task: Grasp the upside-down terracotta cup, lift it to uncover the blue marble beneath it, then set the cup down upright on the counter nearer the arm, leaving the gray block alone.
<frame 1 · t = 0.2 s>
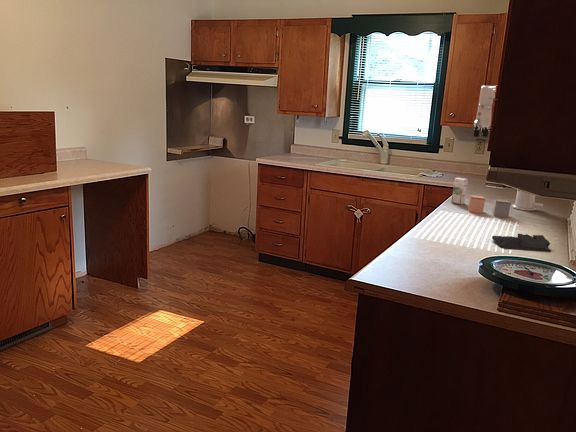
hand: (480, 136, 299), 37 cm above the counter, tool pointing down, fingers open, 9 cm apart
dark slate chunk: (520, 246, 209), on the counter
marble: (475, 208, 268), in the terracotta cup
gray block: (500, 215, 262), on the counter
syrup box: (457, 203, 288), on the counter
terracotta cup: (475, 211, 269), on the counter
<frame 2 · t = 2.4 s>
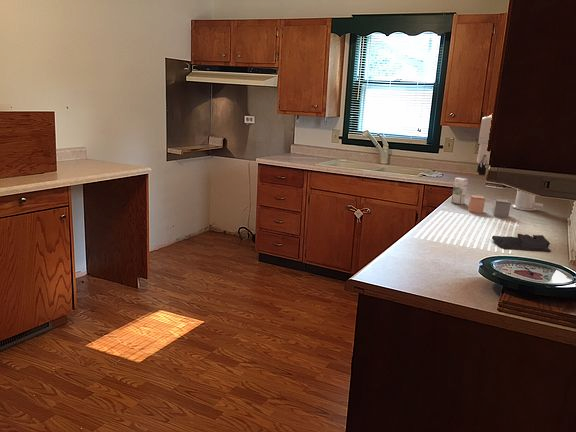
hand: (480, 173, 264), 20 cm above the counter, tool pointing down, fingers open, 9 cm apart
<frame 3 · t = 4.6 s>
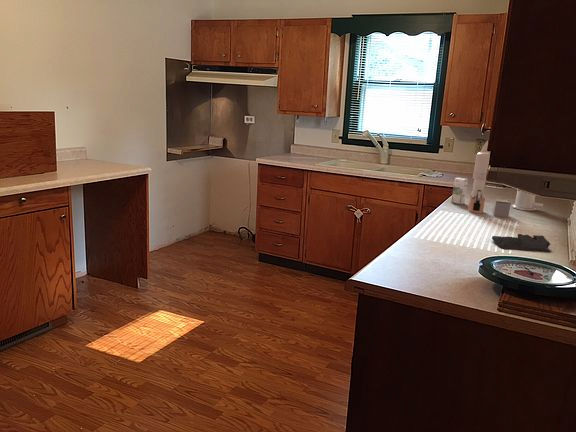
hand: (475, 208, 268), 1 cm above the counter, tool pointing down, fingers closed on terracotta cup, 7 cm apart
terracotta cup: (475, 211, 269), on the counter, touching gripper
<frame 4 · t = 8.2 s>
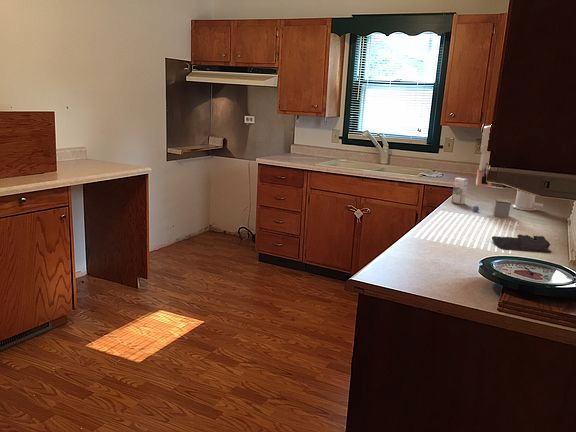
hand: (483, 182, 269), 15 cm above the counter, tool pointing down, fingers closed on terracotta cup, 7 cm apart
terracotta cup: (483, 185, 270), point 14 cm above the counter, touching gripper
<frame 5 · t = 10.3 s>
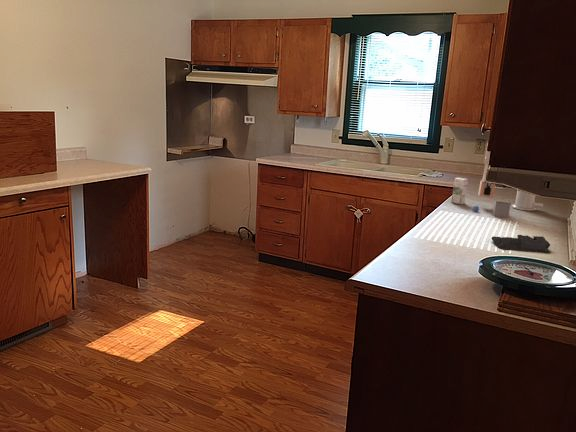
hand: (485, 193, 278), 8 cm above the counter, tool pointing down, fingers closed on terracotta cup, 7 cm apart
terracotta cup: (485, 195, 279), point 7 cm above the counter, touching gripper
when the fingers open (3 cm above the counter, at t = 12.1 s): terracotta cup drops 2 cm, on the counter.
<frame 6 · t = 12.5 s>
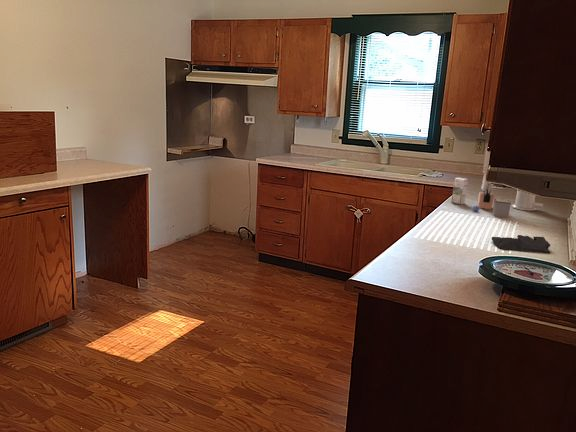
hand: (485, 200, 279), 4 cm above the counter, tool pointing down, fingers open, 9 cm apart
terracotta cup: (484, 207, 280), on the counter
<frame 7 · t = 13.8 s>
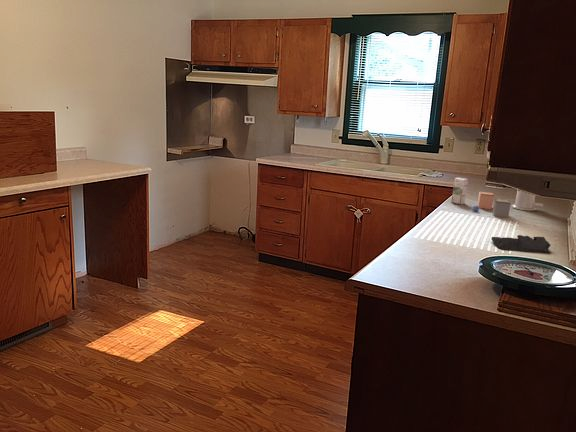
hand: (490, 169, 275), 22 cm above the counter, tool pointing down, fingers open, 9 cm apart
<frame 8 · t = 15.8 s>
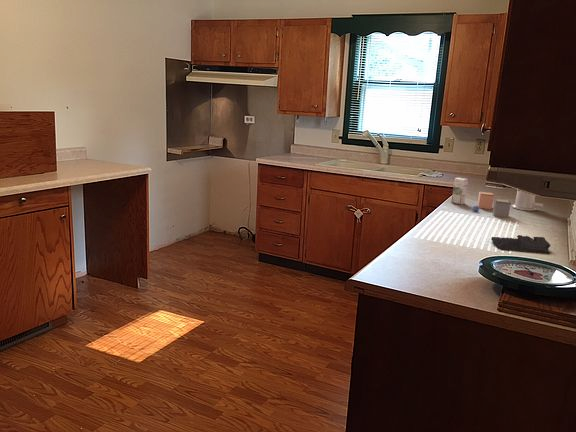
hand: (496, 152, 276), 30 cm above the counter, tool pointing down, fingers open, 9 cm apart
at the end: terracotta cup inside the target area (0.1 cm from its centre), on the counter; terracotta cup tilted 0°; the gripper is holding nothing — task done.
